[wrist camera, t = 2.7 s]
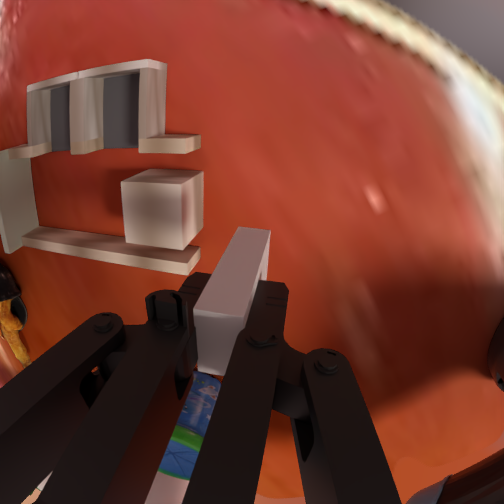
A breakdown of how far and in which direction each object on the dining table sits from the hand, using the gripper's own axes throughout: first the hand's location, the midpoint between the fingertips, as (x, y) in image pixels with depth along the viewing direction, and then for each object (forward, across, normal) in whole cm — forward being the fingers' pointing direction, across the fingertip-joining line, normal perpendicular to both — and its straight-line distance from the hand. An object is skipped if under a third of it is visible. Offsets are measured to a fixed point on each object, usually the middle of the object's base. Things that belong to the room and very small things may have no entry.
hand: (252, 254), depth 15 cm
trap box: (+9, +16, -2) cm, 18 cm away
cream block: (+9, +8, 0) cm, 12 cm away
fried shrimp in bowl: (+9, +34, +17) cm, 40 cm away
